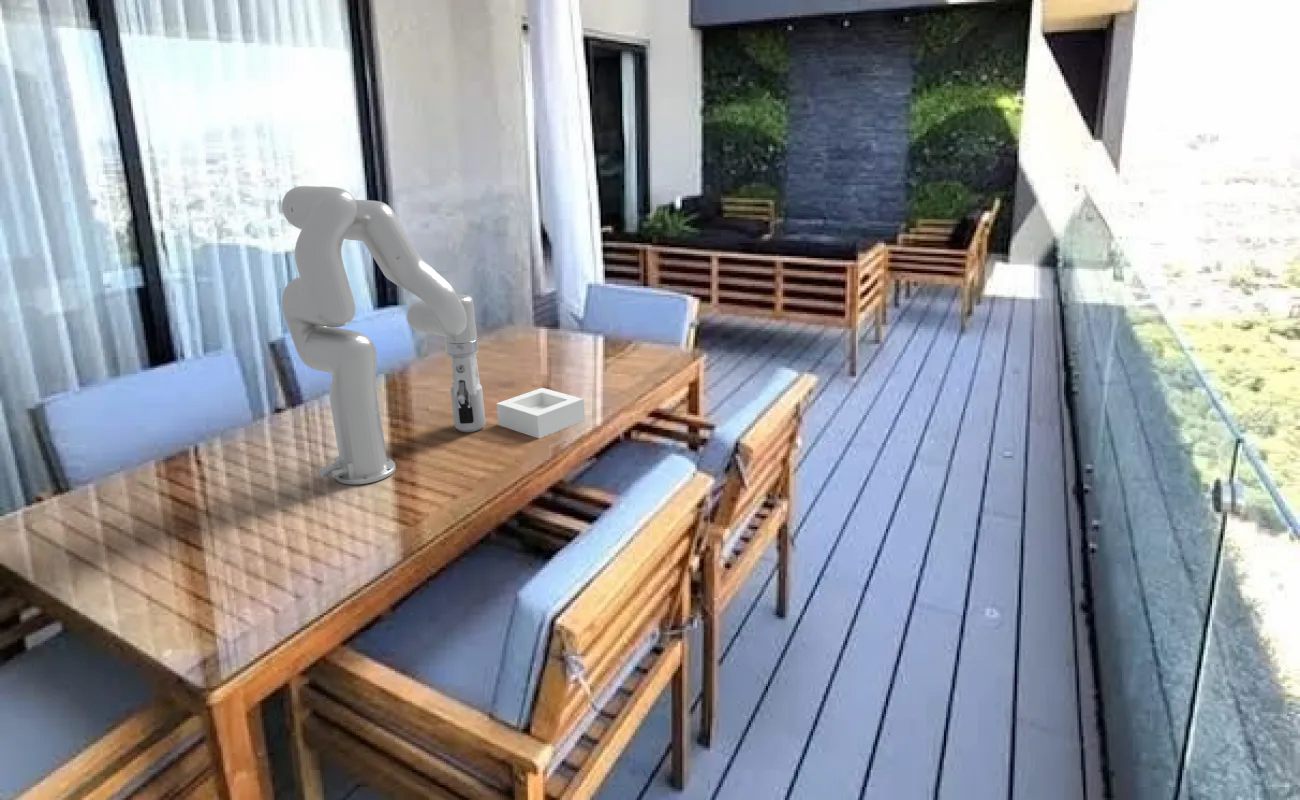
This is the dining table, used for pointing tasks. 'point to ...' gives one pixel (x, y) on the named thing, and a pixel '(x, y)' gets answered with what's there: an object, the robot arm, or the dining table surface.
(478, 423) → the can
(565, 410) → the riser
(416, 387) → the dining table surface
